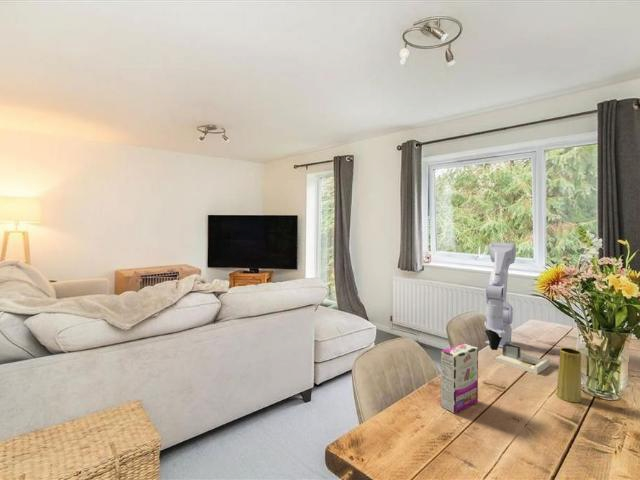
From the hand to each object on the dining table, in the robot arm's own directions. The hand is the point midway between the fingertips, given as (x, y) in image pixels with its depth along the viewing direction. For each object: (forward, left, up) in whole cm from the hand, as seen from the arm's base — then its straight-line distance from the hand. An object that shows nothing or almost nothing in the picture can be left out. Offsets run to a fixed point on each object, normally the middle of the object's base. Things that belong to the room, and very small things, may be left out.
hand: (493, 349), depth 135 cm
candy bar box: (+46, +11, -2) cm, 47 cm away
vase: (+16, +29, -2) cm, 34 cm away
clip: (0, +7, -1) cm, 7 cm away
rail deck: (0, +10, -2) cm, 11 cm away
